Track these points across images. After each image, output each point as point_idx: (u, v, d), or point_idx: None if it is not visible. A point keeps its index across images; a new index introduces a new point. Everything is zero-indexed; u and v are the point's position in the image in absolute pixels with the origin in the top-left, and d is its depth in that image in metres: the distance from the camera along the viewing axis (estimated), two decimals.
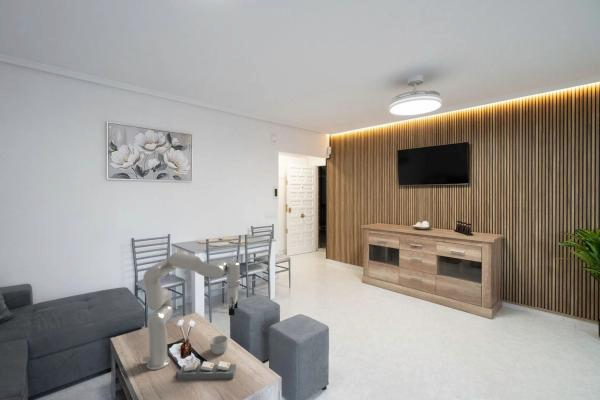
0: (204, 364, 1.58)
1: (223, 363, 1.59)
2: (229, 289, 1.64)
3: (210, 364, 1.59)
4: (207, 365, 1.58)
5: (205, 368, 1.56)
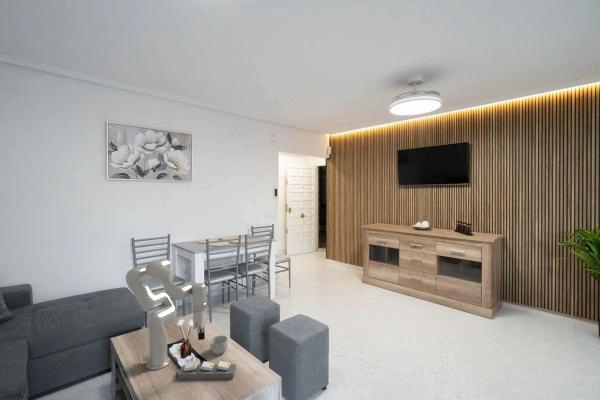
0: (204, 364, 1.58)
1: (223, 363, 1.59)
2: (195, 313, 1.54)
3: (210, 364, 1.59)
4: (207, 365, 1.58)
5: (205, 368, 1.56)
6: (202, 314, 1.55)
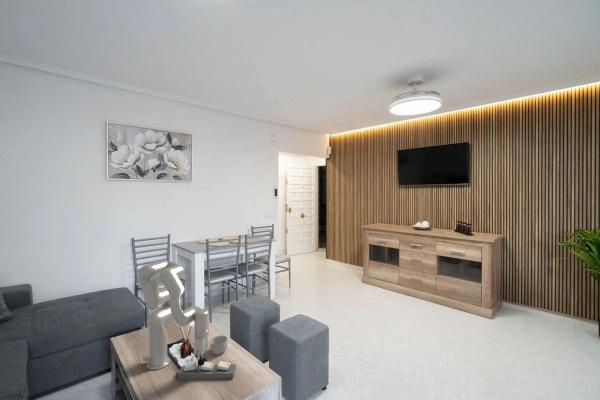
0: (204, 364, 1.58)
1: (223, 363, 1.59)
2: (196, 340, 1.53)
3: (210, 364, 1.59)
4: (207, 365, 1.58)
5: (205, 368, 1.56)
6: (203, 341, 1.55)
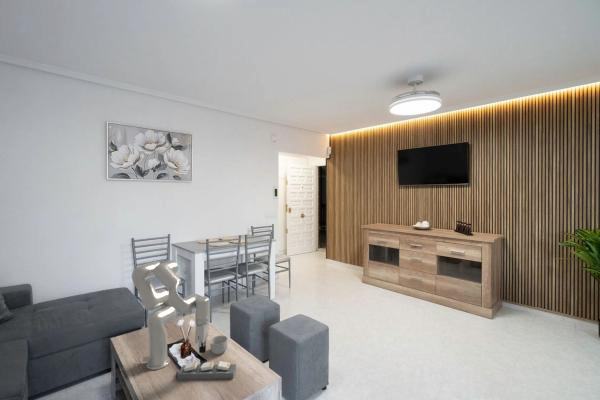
0: (203, 365, 1.58)
1: (223, 363, 1.59)
2: (197, 327, 1.53)
3: (209, 363, 1.59)
4: (206, 365, 1.58)
5: (205, 368, 1.56)
6: (204, 328, 1.55)
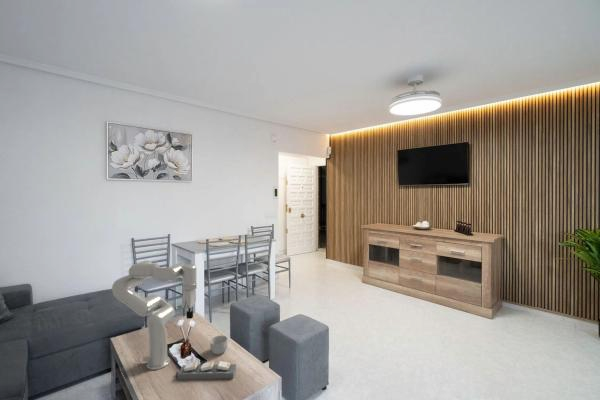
0: (203, 366, 1.58)
1: (223, 363, 1.59)
2: (184, 293, 1.59)
3: (209, 363, 1.59)
4: (206, 365, 1.58)
5: (205, 368, 1.56)
6: (191, 294, 1.61)
